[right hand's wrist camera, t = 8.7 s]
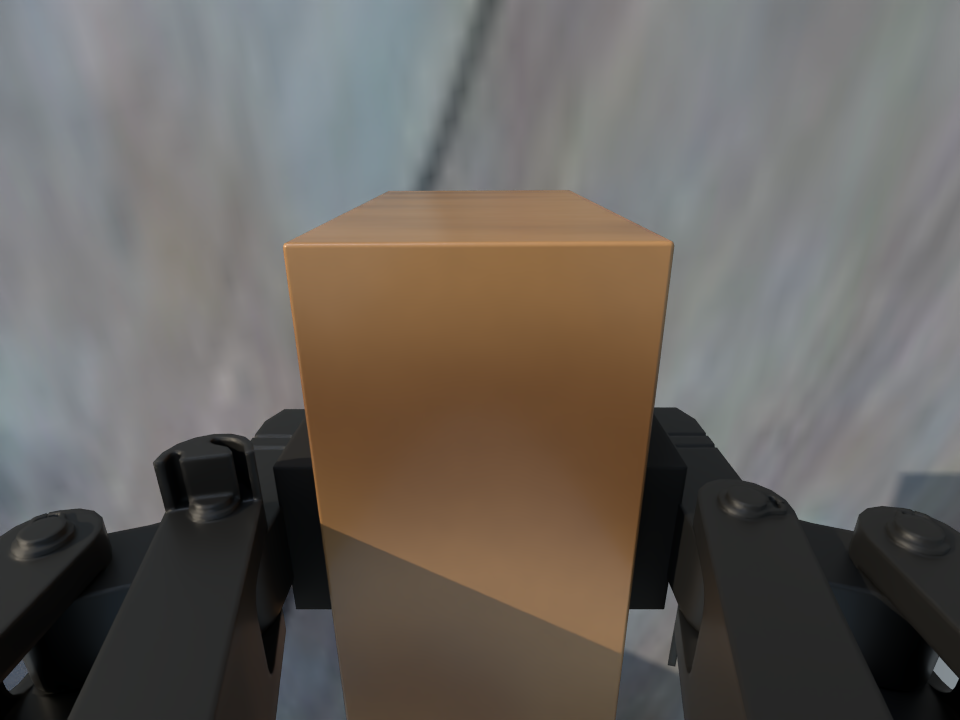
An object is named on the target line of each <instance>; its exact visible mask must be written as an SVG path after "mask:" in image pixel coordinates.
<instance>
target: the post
mask: <svg viewBox="0 0 960 720" xmlns="http://www.w3.org/2000/svg"><path fill="white" fill-rule="evenodd" d="M283 251H284V258H285V266H286V273H287V281H288V288H289V296H290V303H291V310H292V318H293V325H294V333H295V340H296V348H297V355H298V362H299V370H300V377H301V385H302V392H303V400H304V407H305V414H306V422H307V429H308V437H309V444H310V451H311V459H312V466H313V474H314V481H315V489H316V496H317V503H318V511H319V518H320V526H321V533H322V541H323V548H324V555H325V563H326V570H327V578H328V585H329V593H330V600H331V607H332V615H333V622H334V630H335V637H336V645H337V652H338V659H339V667H340V674H341V682H342V689H343V697H344V704H345V711H346V719H347V720H615V718H616V710H617V702H618V694H619V686H620V678H621V670H622V662H623V654H624V646H625V638H626V630H627V622H628V614H629V606H630V598H631V590H632V582H633V574H634V565H635V557H636V549H637V541H638V533H639V525H640V517H641V509H642V501H643V493H644V485H645V477H646V469H647V461H648V453H649V445H650V437H651V429H652V421H653V413H654V405H655V397H656V389H657V381H658V373H659V364H660V356H661V348H662V340H663V332H664V324H665V316H666V308H667V300H668V292H669V284H670V276H671V268H672V260H673V252H674V243H673V242H672V241H670V240H668V239H666V238H664V237H662V236H660V235H658V234H656V233H654V232H652V231H650V230H648V229H646V228H644V227H642V226H640V225H638V224H636V223H634V222H632V221H630V220H628V219H626V218H624V217H622V216H620V215H618V214H616V213H614V212H612V211H610V210H608V209H606V208H604V207H602V206H600V205H598V204H596V203H594V202H592V201H590V200H588V199H586V198H584V197H582V196H580V195H578V194H576V193H574V192H572V191H569V190H533V191H388V192H386V193H384V194H382V195H380V196H378V197H376V198H374V199H372V200H370V201H368V202H366V203H364V204H362V205H360V206H358V207H356V208H354V209H352V210H350V211H348V212H346V213H344V214H342V215H340V216H338V217H336V218H334V219H332V220H330V221H328V222H326V223H324V224H322V225H320V226H318V227H316V228H314V229H312V230H311V231H309V232H307V233H305V234H303V235H301V236H299V237H297V238H295V239H293V240H291V241H289V242H287V243H285V244H284V246H283Z"/></svg>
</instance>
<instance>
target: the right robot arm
mask: <svg viewBox="0 0 960 720" xmlns="http://www.w3.org/2000/svg"><path fill="white" fill-rule="evenodd" d="M153 465H154V468H155V472H156V476H157V480H158V484H159V488H160V491H161V495H162V499H163V503H164V507H165V511H166V512H165V514H164V516H163V519H162V521H161V522H160V523H156V524H152V525H148V526H143V527H138V528H133V529H128V530H123V531H118V532H113V533H108V534H107V531H106V528H105V525H104V521H103V518H102V517H101V516H100V515H99V514H97V513H96V512H95V511H92V510H85V509H70V510H59V511H54V512H49V514H47V513H46V514H43V515H40V516H36V517H34V518H33V519H31V520H29V521H27V522H25V523H22V524H20V525H18V526H16V527H14V528H13V529H11V530H9V531H8V532H6V533H5V534H3V535H2V536H0V720H276V712H277V703H278V695H279V686H280V677H281V669H282V660H283V651H284V642H285V634H286V627H285V621H284V615H283V609H282V606H283V604H284V602H285V599H286V597H287V594H288V592H289V590H290V587H291V585H292V586H293V592H294V598H295V604H296V609H332V607H331V600H330V593H329V585H328V578H327V570H326V563H325V555H324V548H323V541H322V533H321V526H320V518H319V511H318V503H317V496H316V489H315V481H314V474H313V466H312V459H311V451H310V444H309V437H308V429H307V422H306V414H305V409H284V410H282V411H281V412H279V413H278V414H276V415H275V416H273V417H271V418H270V419H268V420H267V421H265V422H264V424H263V425H262V426H261V428H260V429H259V430H258V432H257V433H256V434H255V438H252V440H251V441H250V440H248V439H247V438H246V437H243V436H239V435H234V434H212V435H207V436H202V437H196V438H193V439H190V440H187V441H185V442H182V443H179V444H177V445H175V446H173V447H172V448H170V449H168V450H166V451H165V452H163V453H162V454H161V455H160V456H159V457H158V458H157V459H156V460H155V461H154V462H153ZM668 582H669V584H670V586H671V588H672V591H673V593H674V595H675V598H676V600H677V603H678V609H677V615H676V620H675V626H674V631H673V637H672V643H671V648H670V654H669V661H668V665H670V666H675V665H676V660H677V659H678V667H679V676H680V685H681V693H682V702H683V711H684V719H685V720H960V533H959V532H957V531H956V530H954V529H953V528H951V527H950V526H948V525H947V524H945V523H943V522H940V521H938V520H936V519H933V518H931V517H930V516H928V515H926V514H923V513H920V512H917V511H915V512H914V511H912V510H910V509H905V508H896V507H886V506H880V507H873V508H867V509H866V510H865V511H863V512H862V513H861V514H859V517H858V520H857V523H856V526H855V529H854V531H850V530H845V529H839V528H834V527H829V526H824V525H819V524H814V523H810V522H806V521H802V520H798V518H797V515H796V513H795V511H794V510H793V509H792V507H791V506H790V505H789V504H788V502H787V501H786V500H785V499H783V498H782V497H780V496H779V495H778V494H776V493H775V492H773V491H772V490H769V489H767V488H765V487H762V486H760V485H757V484H755V483H751V482H746V481H742V480H741V478H740V477H739V476H738V475H737V473H736V472H735V471H734V469H733V468H732V467H731V465H730V464H729V463H728V462H727V460H726V459H725V458H724V456H723V455H722V454H721V452H720V451H719V450H718V448H715V446H714V443H713V442H712V441H711V439H710V438H709V437H708V436H706V433H705V431H704V430H703V429H702V428H701V426H700V425H699V424H698V422H697V421H696V420H695V419H694V418H692V417H691V416H689V415H687V414H686V413H684V412H683V411H681V410H679V409H678V408H654V413H653V421H652V429H651V437H650V445H649V453H648V461H647V469H646V477H645V485H644V493H643V501H642V509H641V517H640V525H639V533H638V541H637V549H636V557H635V565H634V574H633V582H632V590H631V598H630V606H629V609H664V606H665V600H666V594H667V588H668ZM938 657H940V658H941V659H942V660H943V661H944V662H945V663H946V664H947V666H948V667H949V668H950V669H951V670H952V671H953V672H954V673H955V674H956V675H957V677H958V678H959V680H958V682H957V684H956V686H955V688H954V689H953V690H952V689H950V688H949V687H948V686H947V685H946V684H945V683H944V682H943V681H942V680H941V679H940V678H939V677H938V676H937V675H936V673H935V672H934V671H933V669H934V667H935V664H936V662H937V660H938ZM22 659H23V661H24V663H25V666H26V668H27V670H28V674H27V675H26V676H25V677H24V678H23V679H22V681H21V682H20V683H19V684H18V685H17V686H15V687H14V688H13V689H12V690H11V691H8V690H7V689H6V687H5V685H4V683H3V680H4V679H5V678H6V677H7V676H8V675H9V674H10V672H11V671H12V670H13V669H14V668H15V667H16V666H17V665H18V663H19V662H20V661H21V660H22Z"/></svg>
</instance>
